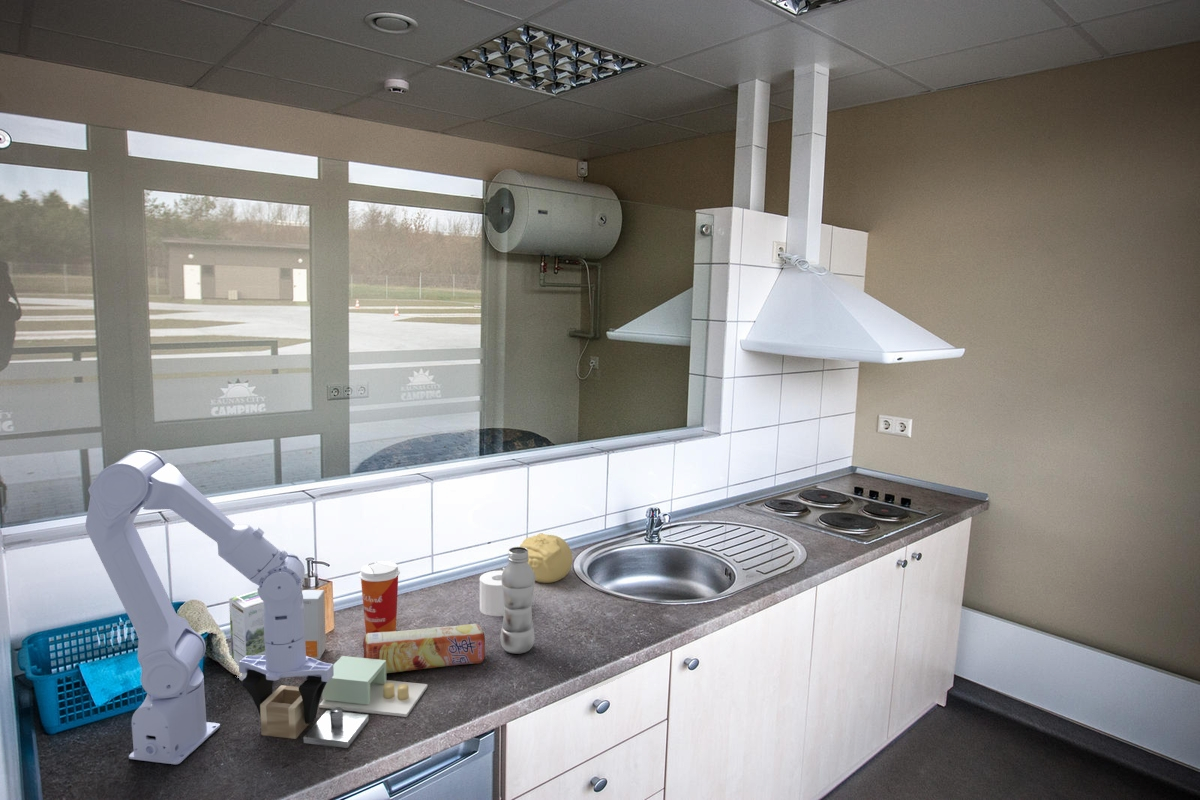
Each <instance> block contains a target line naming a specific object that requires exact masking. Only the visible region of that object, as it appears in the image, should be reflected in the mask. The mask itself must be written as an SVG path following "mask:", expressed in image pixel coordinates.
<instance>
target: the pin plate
mask: <svg viewBox="0 0 1200 800" xmlns="http://www.w3.org/2000/svg"><path fill="white" fill-rule="evenodd" d="M369 716H370V715H369V714H364V713H362V714H361V713H353V712H345V711H344V710H343V709H342V708H340V707H336V708H333V709H330V710H328V709H327V710H326V711H325V712H324V713H323V714H322V715H321V717H319V719H318V720H317V721H316V722H315V723H314V725H313V726H312V727H311V728H310V729H309V730H308V731H307V732H306V733H305V735H304V736H303V738H302V739H303V744H311V745H320V746H325V747H326V746H327V747H334V748H336V747H337V748H344V749H348V748H349V747H350V745H351V744H352V743H353V742H354V740H355V739H356V738H357V736H358V735H359V734H360V732H361V731H362V730H363V729H364V727H365V726H366V725H367V724H368V722H369Z"/></svg>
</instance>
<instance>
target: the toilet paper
mask: <svg viewBox="0 0 1200 800" xmlns="http://www.w3.org/2000/svg"><path fill="white" fill-rule="evenodd" d="M505 568H506V567H502V570H491V571H487V572H484V573H483V574H481V575H480V577H479V612H480V613H481V614H483V615H485V616H489V617H503V616H504V597H503V589H502V582H501V576H502V573H503V571H504V569H505Z"/></svg>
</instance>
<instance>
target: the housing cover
mask: <svg viewBox="0 0 1200 800" xmlns="http://www.w3.org/2000/svg"><path fill="white" fill-rule="evenodd" d="M333 667H334V676H333V677H332V678H331V679H330V680H329V681H328V682H327V683H326V685H325V687H324V690H323V692H322V695H321V700H322V701H323V700H330V701H340V702H349V703H359V704H369V703H370V683H377V684H385V683H386V680H387V673H386V660H379V659H369V658H364V657H359V656H358V657H357V656H347V655H341V656H340V658H339V659H337V660H336V661H335V662H334V663H333Z"/></svg>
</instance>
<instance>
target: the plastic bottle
mask: <svg viewBox="0 0 1200 800" xmlns="http://www.w3.org/2000/svg"><path fill="white" fill-rule="evenodd" d="M507 556H508V557H507V558H508V559H507V561H508V564H506V566H505V567H504V568H505V569H504V571H503V570H502V571H503V573H502V576H501V582H502V589H503V597H504V616H502V618H503V619H502V626H501V630H500V634H499V635H500V636H499V638H500V639H499V640H500V644H501V647H502V648H503V649H504V651H506V652H507V653H509V654H514V655H519V654H524V653H525V654H526V653H527V652H529V651H530V650H531V649H532V647H533V646H534V642H535V637H536V636H535V629H534V624H533V611H532V610H533V598H534V597H533V596H534V591H535V590H534V589H535V583H536V581H535V574H534V571H533V569H532V568H531V566H530V565H529V564H528V562H527V561H528V560H529V557H528V549H526V548H524V547H520V546H514V547H510V548H508V555H507Z"/></svg>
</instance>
